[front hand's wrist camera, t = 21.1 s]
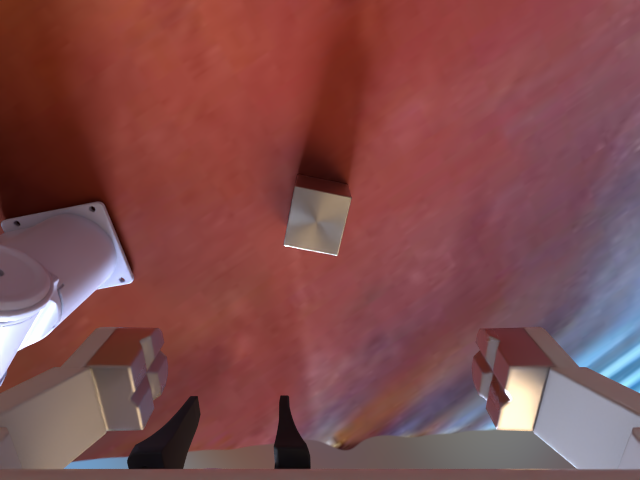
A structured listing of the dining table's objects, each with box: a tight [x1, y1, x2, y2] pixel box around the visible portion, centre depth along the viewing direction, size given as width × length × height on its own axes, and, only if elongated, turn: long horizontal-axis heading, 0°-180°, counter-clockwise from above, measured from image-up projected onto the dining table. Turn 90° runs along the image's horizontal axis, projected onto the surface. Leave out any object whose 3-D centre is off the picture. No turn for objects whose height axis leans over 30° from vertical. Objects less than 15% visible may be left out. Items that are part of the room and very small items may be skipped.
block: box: [284, 174, 352, 255], centre depth 33 cm, size 4×5×4 cm
